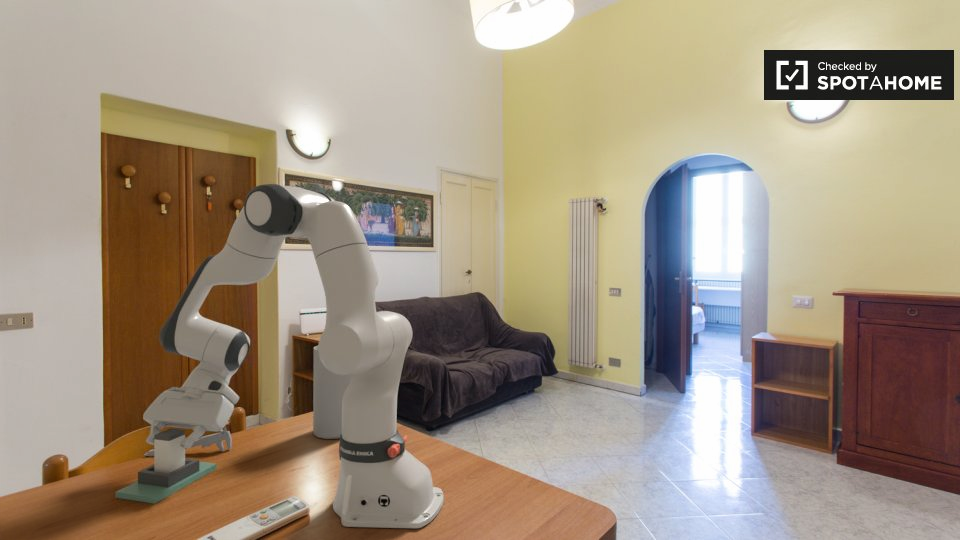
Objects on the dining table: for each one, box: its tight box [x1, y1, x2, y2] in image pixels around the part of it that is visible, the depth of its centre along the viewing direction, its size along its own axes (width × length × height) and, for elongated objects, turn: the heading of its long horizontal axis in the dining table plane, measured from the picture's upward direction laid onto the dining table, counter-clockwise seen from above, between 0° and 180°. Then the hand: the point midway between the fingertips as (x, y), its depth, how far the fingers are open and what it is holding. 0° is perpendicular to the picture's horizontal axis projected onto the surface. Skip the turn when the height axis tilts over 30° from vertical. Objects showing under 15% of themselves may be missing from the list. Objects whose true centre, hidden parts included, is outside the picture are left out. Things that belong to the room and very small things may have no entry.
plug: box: [153, 427, 186, 473], centre depth 100 cm, size 4×4×10 cm
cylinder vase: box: [312, 345, 353, 440], centre depth 131 cm, size 12×12×25 cm
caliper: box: [142, 426, 233, 457], centre depth 116 cm, size 20×1×6 cm, turn 101°
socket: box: [115, 457, 218, 504], centre depth 100 cm, size 10×16×4 cm, turn 167°
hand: (167, 445), depth 99 cm, fingers open, 8 cm apart
